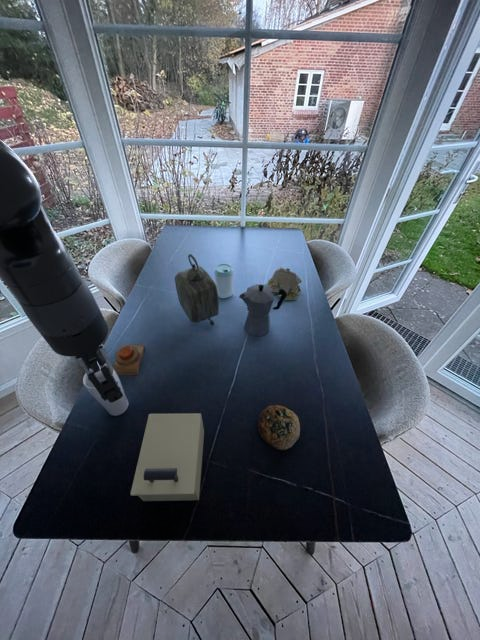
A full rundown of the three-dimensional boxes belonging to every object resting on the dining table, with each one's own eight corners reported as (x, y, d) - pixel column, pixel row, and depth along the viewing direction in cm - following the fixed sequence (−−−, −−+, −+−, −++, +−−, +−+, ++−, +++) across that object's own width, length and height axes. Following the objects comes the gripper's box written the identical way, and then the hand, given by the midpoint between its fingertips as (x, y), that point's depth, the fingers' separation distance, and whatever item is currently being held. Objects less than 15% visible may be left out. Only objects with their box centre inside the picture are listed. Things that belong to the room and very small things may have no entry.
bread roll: (249, 416, 69) (252, 407, 65) (284, 403, 73) (290, 394, 70) (269, 459, 62) (274, 451, 59) (307, 442, 66) (314, 433, 63)
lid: (194, 494, 49) (191, 487, 45) (131, 495, 49) (122, 488, 45) (201, 414, 60) (199, 403, 56) (149, 415, 60) (144, 403, 56)
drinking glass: (99, 416, 68) (75, 386, 57) (113, 393, 73) (92, 361, 62) (124, 421, 67) (104, 391, 57) (136, 397, 72) (120, 365, 61)
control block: (137, 375, 77) (134, 368, 75) (113, 375, 77) (109, 368, 74) (145, 348, 84) (142, 341, 82) (123, 348, 84) (120, 341, 82)
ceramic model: (306, 290, 107) (311, 269, 100) (291, 304, 101) (296, 283, 94) (276, 276, 113) (279, 256, 106) (261, 289, 107) (263, 268, 100)
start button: (131, 359, 77) (130, 356, 76) (119, 359, 77) (117, 356, 76) (134, 350, 80) (133, 346, 78) (122, 350, 80) (121, 346, 78)
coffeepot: (241, 339, 88) (242, 298, 75) (235, 319, 94) (236, 278, 81) (285, 333, 90) (294, 292, 77) (277, 314, 96) (284, 273, 84)
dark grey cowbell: (219, 326, 92) (216, 264, 74) (195, 335, 88) (186, 273, 71) (202, 302, 100) (195, 241, 83) (179, 310, 97) (167, 249, 79)
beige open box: (198, 500, 56) (194, 489, 50) (143, 501, 56) (132, 490, 49) (204, 430, 66) (201, 415, 60) (157, 431, 66) (149, 415, 60)
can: (235, 290, 106) (236, 265, 97) (228, 301, 101) (228, 275, 93) (219, 286, 107) (218, 260, 99) (212, 296, 103) (210, 270, 94)
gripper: (26, 296, 37) (75, 363, 49) (45, 363, 29) (98, 425, 41) (83, 277, 41) (116, 345, 52) (113, 334, 33) (144, 398, 44)
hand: (108, 380), depth 46 cm, fingers open, 8 cm apart
